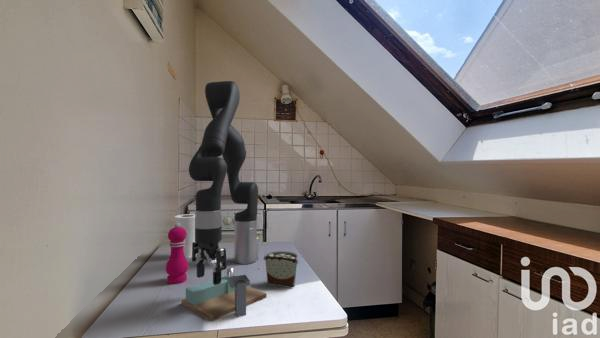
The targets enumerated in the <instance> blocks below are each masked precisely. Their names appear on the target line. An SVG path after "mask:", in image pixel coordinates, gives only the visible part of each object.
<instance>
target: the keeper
mask: <svg viewBox="0 0 600 338" xmlns="http://www.w3.org/2000/svg"><path fill="white" fill-rule="evenodd" d="M228 283H229V285H230V287H231V288H234V287H235V311H234V314H235V316H236V317H242V316H246V315H247V306H246V286H251V285H250V283H251V281H250V279H249V277H248V276H247V275H246V274H241V275H238V276H233V277H228Z"/></svg>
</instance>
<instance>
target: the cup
mask: <svg viewBox="0 0 600 338" xmlns="http://www.w3.org/2000/svg"><path fill="white" fill-rule="evenodd" d="M195 214H196V213H191V214H190V213H188V214H187V213H186V214H177V215H174V222H175V224H176V223H180V227H182V228H184V229H185V230H186V233H187V236H186V238H185V239H184V241H185V245H184V255H185V258H186V259H192V243H193V242H195Z"/></svg>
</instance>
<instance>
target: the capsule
mask: <svg viewBox="0 0 600 338" xmlns="http://www.w3.org/2000/svg"><path fill="white" fill-rule="evenodd" d="M233 274H234V267H227V268H226V275H227V280H228V277H233Z"/></svg>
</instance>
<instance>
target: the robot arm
mask: <svg viewBox="0 0 600 338" xmlns="http://www.w3.org/2000/svg"><path fill="white" fill-rule="evenodd" d="M204 93H205V98H206V104H207V106H208V110H209V112H210V115H211V118H212V120H211V121H210V122H209V123H208V124H207V126H206V127H205V128H204V133H203V137H202V141H201V144H200V146H199V148H198V149H197V151H196V152H195V153H194V155H193V157H192V158H191V160H190V162H189V165H188V174H189V177H190V179H192V180H193V181H195V182H212V184H211V186H210V187H208V188H204V189H200V190H199V189H198V191H196V193H195V213H194V214H195V242H193V243H192V257H191V261H192V262H194V264H195V265H196V278H199V279H200V278H202V277H204V276H205V261H206V262H208V265H209V266H211V268H212V280H213V284H214V285H217V284H220V283H221V276H222V271H224V270H227V268H228V267H227V252H226V251H227V250H226V249H227V248H225V247H222V248H220V246H219V243H221V241H222V239H223V238H222V235H223V234H222V233H223V232H222V231H223V230H222V229H223V227H222V224H223V223H222V222H223V221H222V219H223V218H222V210H221V209H222V205H221V203H222V201H221V200H222V198H221V197H222V192H223V191H222V190H223V185H224V182H225V180H226V176H227V181H228V188H229V193H230V198H231V200H232V202H233V203H234V204H238V205H241V204H242V205H247V207H246V208H245V209H244V210H241V211H238V212H236V213H234V245H233V246H234V248H233V249H234V255H233V256H234V257H233V260H234V263H235V264H238V265H247V264H254V263H256V262H257V261H258V260H259V237H258V236H257V235H258V234H257V232H258V231H257V230H258V227H257V226H258V225H257V223H258V203H259V202H258V200H259V186H258V184H257V183H256V182H253V181H251V182H250V181H240V178H239V176H240V175H239V173H240V171H241V169H242V166H243V164H244V163H245V160H246V158H247V149H246V144H245V141H244V138H243V136H242V135H241V133H240V132H239V131H238V130H237V129H236V128H235V127H234V126H233V125H232V122H233V119H234V118H235V115H236V112H237V110H238V106H239V104H240V97H241V96H240V89H239V86H238V84H237V82H236V81H232V80H227V81H226V80H225V81H223V80H222V81H212V82H210V81H209V82H208V83H206V85H205V88H204ZM221 156H222V157H221Z"/></svg>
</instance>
